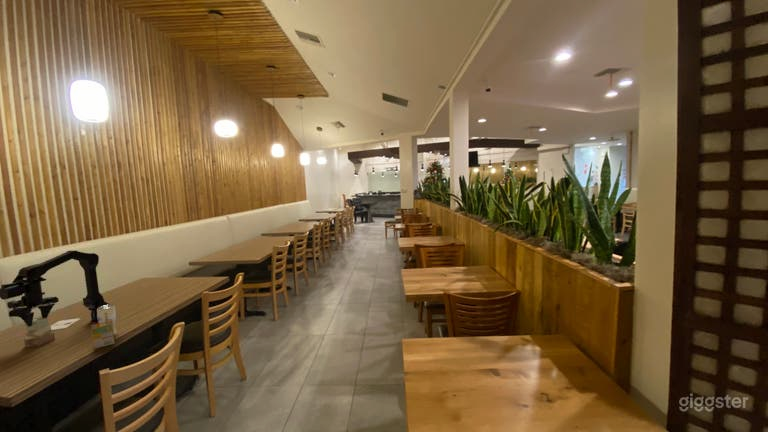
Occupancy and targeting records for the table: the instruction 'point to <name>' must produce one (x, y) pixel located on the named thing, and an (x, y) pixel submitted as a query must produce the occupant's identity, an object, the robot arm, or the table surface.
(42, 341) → the walnut base brick
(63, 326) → the page
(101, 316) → the beer glass
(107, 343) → the crayon box
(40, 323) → the sage brick
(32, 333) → the maple brick
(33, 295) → the robot arm
